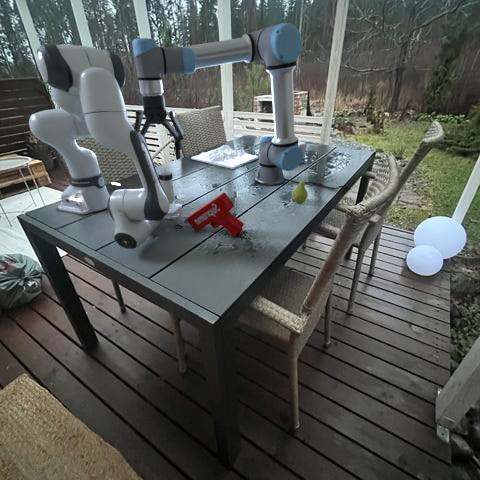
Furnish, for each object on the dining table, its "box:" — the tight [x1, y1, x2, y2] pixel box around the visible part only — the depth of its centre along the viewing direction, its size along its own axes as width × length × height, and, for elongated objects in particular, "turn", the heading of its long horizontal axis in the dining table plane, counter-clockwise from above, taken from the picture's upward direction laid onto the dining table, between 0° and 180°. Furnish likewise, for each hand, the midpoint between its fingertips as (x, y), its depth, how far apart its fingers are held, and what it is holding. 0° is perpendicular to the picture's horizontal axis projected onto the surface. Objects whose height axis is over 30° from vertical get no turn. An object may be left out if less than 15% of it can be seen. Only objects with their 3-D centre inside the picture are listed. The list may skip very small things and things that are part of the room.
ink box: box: [298, 141, 308, 165], centre depth 167 cm, size 8×5×12 cm, turn 135°
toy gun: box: [186, 192, 245, 238], centre depth 98 cm, size 18×4×15 cm
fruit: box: [291, 174, 311, 204], centre depth 118 cm, size 7×8×12 cm
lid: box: [157, 170, 174, 181], centre depth 108 cm, size 5×5×2 cm
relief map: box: [190, 144, 259, 170], centre depth 177 cm, size 27×35×5 cm
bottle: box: [159, 178, 176, 204], centre depth 112 cm, size 5×5×16 cm
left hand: (162, 201), depth 107 cm, fingers open, 8 cm apart
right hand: (162, 157), depth 104 cm, fingers open, 12 cm apart
